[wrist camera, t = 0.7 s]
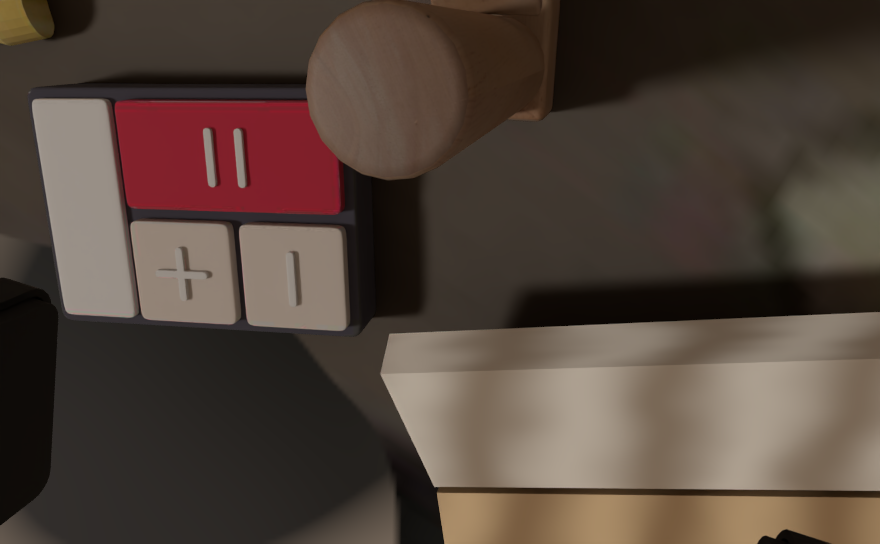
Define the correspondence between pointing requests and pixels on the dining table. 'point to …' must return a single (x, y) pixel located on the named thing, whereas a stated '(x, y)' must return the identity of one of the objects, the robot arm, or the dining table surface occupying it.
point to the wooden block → (428, 79)
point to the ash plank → (646, 404)
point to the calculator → (202, 208)
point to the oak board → (654, 515)
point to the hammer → (24, 21)
